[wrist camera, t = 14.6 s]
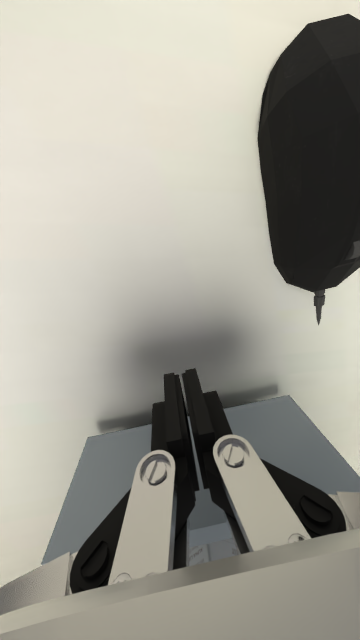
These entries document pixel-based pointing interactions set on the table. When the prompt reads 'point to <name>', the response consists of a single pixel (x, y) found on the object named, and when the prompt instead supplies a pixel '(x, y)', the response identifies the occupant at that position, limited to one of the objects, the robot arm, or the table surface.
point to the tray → (206, 517)
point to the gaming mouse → (314, 156)
